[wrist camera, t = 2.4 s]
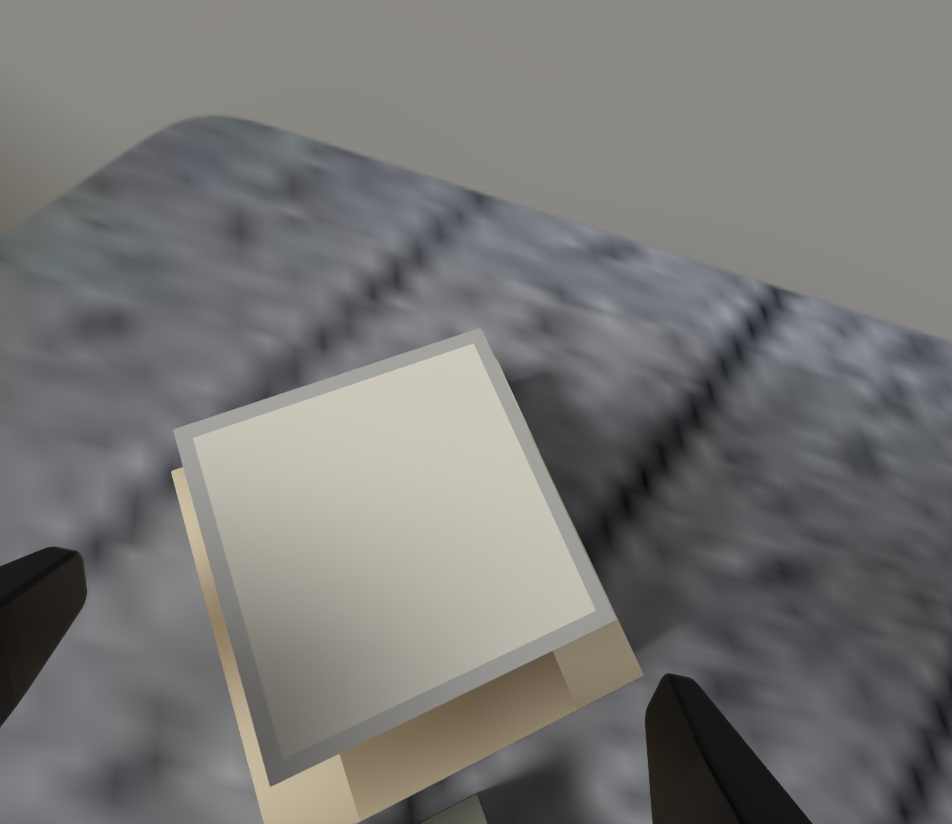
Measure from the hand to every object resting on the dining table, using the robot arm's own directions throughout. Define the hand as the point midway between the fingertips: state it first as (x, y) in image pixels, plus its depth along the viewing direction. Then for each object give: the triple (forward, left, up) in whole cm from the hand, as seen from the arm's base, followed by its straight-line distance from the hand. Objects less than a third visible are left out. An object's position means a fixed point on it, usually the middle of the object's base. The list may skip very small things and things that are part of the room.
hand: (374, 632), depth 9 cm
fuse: (+1, -1, -9) cm, 9 cm away
